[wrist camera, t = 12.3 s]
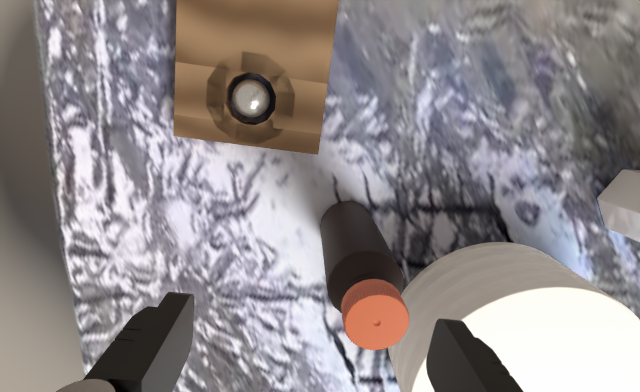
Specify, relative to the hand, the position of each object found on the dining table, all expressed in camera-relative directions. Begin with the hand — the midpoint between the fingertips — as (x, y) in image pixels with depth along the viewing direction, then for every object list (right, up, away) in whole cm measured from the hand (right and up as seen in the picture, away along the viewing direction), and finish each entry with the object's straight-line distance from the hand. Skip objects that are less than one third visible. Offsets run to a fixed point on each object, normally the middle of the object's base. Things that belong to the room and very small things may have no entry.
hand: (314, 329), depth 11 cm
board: (-7, +20, +27) cm, 35 cm away
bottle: (+4, +1, +34) cm, 34 cm away
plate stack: (+24, -15, +39) cm, 48 cm away
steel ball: (-7, +15, +27) cm, 31 cm away
